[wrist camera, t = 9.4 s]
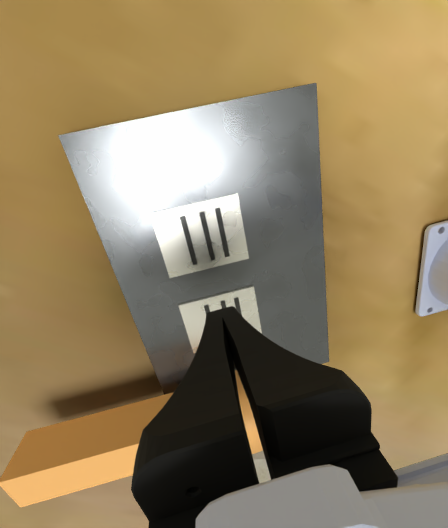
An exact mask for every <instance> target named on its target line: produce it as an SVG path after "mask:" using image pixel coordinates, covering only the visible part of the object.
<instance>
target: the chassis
mask: <svg viewBox="0 0 448 528" xmlns="http://www.w3.org/2000/svg"><path fill="white" fill-rule="evenodd" d="M58 136H59V138H60V141H61V143H62V146H63V148H64V151H65V153H66V155H67V158H68V160H69V163H70V165H71V168H72V170H73V172H74V175H75V177H76V180H77V182H78V185H79V187H80V190H81V192H82V194H83V197H84V199H85V202H86V204H87V207H88V209H89V212H90V214H91V216H92V219H93V221H94V224H95V226H96V229H97V231H98V234H99V236H100V238H101V241H102V243H103V246H104V248H105V251H106V253H107V256H108V258H109V260H110V263H111V265H112V268H113V270H114V273H115V275H116V278H117V280H118V282H119V285H120V287H121V290H122V292H123V295H124V297H125V300H126V302H127V304H128V307H129V309H130V312H131V314H132V317H133V319H134V322H135V324H136V326H137V329H138V331H139V334H140V336H141V339H142V341H143V343H144V346H145V348H146V351H147V353H148V356H149V358H150V361H151V363H152V365H153V368H154V370H155V373H156V375H157V378H158V380H159V383H160V385H161V387H162V390H163V392H164V395H165V394H169V393H173V392H175V390H176V389H177V387H178V386H179V384H180V382H181V381H182V379H183V377H184V376H185V374H186V372H187V370H188V368H189V366H190V364H191V362H192V360H193V358H194V356H195V353H196V351H197V348H198V345H199V343H200V340H201V336H202V333H203V330H204V325H205V320H206V314H207V313H208V312H211V311H215V310H219V309H222V308H226V307H230V306H233V307H235V308H236V310H237V311H238V312H239V313H240V314H241V316H242V317H243V318H244V319H245V320H246V321H247V322H249V323H250V324H251V325H252V326H253V327H254V328H255V329H257V330H258V331H259V332H260V333H262V334H263V335H264V336H266V337H267V338H268V339H270V340H271V341H273V342H274V343H276V344H278V345H279V346H281V347H283V348H284V349H286V350H288V351H290V352H292V353H294V354H296V355H298V356H301V357H303V358H305V359H308V360H310V361H313V362H316V363H318V364H322V363H326V362H329V349H328V327H327V305H326V283H325V261H324V239H323V217H322V195H321V173H320V151H319V129H318V107H317V85H316V83H313V84H308V85H303V86H298V87H293V88H288V89H283V90H279V91H274V92H269V93H264V94H259V95H254V96H249V97H244V98H239V99H234V100H229V101H225V102H220V103H215V104H210V105H205V106H200V107H195V108H190V109H185V110H180V111H176V112H171V113H166V114H161V115H156V116H151V117H146V118H141V119H136V120H131V121H126V122H122V123H117V124H112V125H107V126H102V127H97V128H92V129H87V130H82V131H77V132H73V133H68V134H63V135H58ZM233 362H234V361H233ZM234 369H235V370H237V369H236V367H235V364H234Z"/></svg>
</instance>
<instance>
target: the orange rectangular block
mask: <svg viewBox="0 0 448 528" xmlns="http://www.w3.org/2000/svg"><path fill="white" fill-rule="evenodd" d="M235 375H236V381H237V388H238V394H239V401H240V406H241V411H242V416H243V420H244V424H245V428H246V432H247V436H248V440H249V444H250V448H251V452H252V454H255V453H258V452H260V451H263V449H262V445H261V442H260V438H259V434H258V431H257V427H256V424H255V420H254V417H253V413H252V410H251V407H250V404H249V401H248V398H247V396H246V393H245V390H244V388H243V385H242V383H241V380H240V377H239V375H238V372H237V370H235ZM173 393H174V392H173ZM173 393H169V394H165V395H162V396H158V397H154V398H150V399H147V400H143V401H139V402H136V403H132V404H128V405H124V406H121V407H117V408H113V409H110V410H106V411H102V412H98V413H95V414H91V415H87V416H83V417H80V418H76V419H72V420H69V421H65V422H61V423H57V424H54V425H50V426H46V427H42V428H39V429H35V430H31V431H28V432H26V434H25V435H24V437H23V439H22V441H21V443H20V444H19V446H18V448H17V450H16V451H15V453H14V455H13V457H12V459H11V460H10V462H9V464H8V466H7V467H6V469H5V471H4V473H3V475H2V476H1V478H0V486H1V487H2V488H3V489H4V490H5V491H6V492H7V494H8V495H9V496H10V497H11V498H12V499H13V500H14V501H15V502H16V503H17V504H18V505H19V506H20V508H21V507H24V506H27V505H31V504H34V503H38V502H41V501H45V500H48V499H52V498H55V497H59V496H62V495H65V494H69V493H72V492H76V491H79V490H83V489H86V488H90V487H93V486H97V485H100V484H104V483H107V482H110V481H114V480H117V479H121V478H124V477H128V476H131V475H133V471H134V463H135V457H136V453H137V449H138V445H139V441H140V438H141V434H142V431H143V429H144V428H145V427H146V426H147V425H148V424H149V423H150V421H151V420H152V419H153V418H154V417H155V416H156V415H157V414H158V412H159V411H160V410H161V409H162V408H163V407H164V405H165V404H166V403H167V401H168V400H169V398H170V397H171V396H172V394H173Z"/></svg>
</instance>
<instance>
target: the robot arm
mask: <svg viewBox="0 0 448 528" xmlns="http://www.w3.org/2000/svg"><path fill="white" fill-rule="evenodd" d="M438 230H439V231H438ZM447 309H448V220H447V221H443V222H439V223H435V224H432V225H429V226H428V227H427V228H426V230H425V234H424V243H423V251H422V260H421V268H420V277H419V285H418V293H417V302H416V310H415V312H416V314H418V315H419V316H426V315H429V314H433V313H437V312H440V311H444V310H447ZM233 361H234V362H233ZM234 364H235V367H236V369H237V372H238V375H239V377H240V380H241V383H242V385H243V388H244V390H245V393H246V396H247V398H248V401H249V404H250V407H251V410H252V413H253V417H254V420H255V424H256V427H257V431H258V434H259V438H260V442H261V445H262V449H263V452H264V456H265V459H266V463H267V467H268V470H269V474H270V477H271V480H269V481H266V482H263V483H260V484H259V480H258V476H257V472H256V468H255V464H254V460H253V456H252V452H251V448H250V444H249V440H248V436H247V432H246V428H245V424H244V420H243V416H242V411H241V406H240V401H239V394H238V388H237V381H236V375H235V369H234ZM371 411H372V410H371V404H370V402H369V400H368V399H367V397H366V396H365V394H364V393H363V392H362V391H361V389H360V388H359V387H358V386H357V385H356V384H355V383H354V382H353V381H352V380H351V379H350V378H349V377H348V376H347V375H346V374H345V373H344V372H343V371H342V370H338V369H335V368H332V367H328V366H325V365H322V364H318V363H316V362H313V361H310V360H308V359H305V358H303V357H301V356H298V355H296V354H294V353H292V352H290V351H288V350H286V349H284V348H283V347H281V346H279V345H278V344H276V343H274V342H273V341H271V340H270V339H268V338H267V337H266V336H264V335H263V334H262V333H260V332H259V331H258V330H257V329H255V328H254V327H253V326H252V325H251V324H250V323H249V322H247V321H246V320H245V319H244V318H243V317H242V316H241V314H240V313H239V312H238V311H237V310H236V308H235V307H233V306H230V307H226V308H222V309H219V310H215V311H211V312H208V313H207V314H206V320H205V325H204V330H203V333H202V336H201V340H200V343H199V345H198V348H197V351H196V353H195V356H194V358H193V360H192V362H191V364H190V366H189V368H188V370H187V372H186V374H185V376H184V377H183V379H182V381H181V382H180V384H179V386H178V387H177V389H176V390H175V392H174V393H173V394H172V396H171V397H170V398H169V400H168V401H167V403H166V404H165V405H164V407H163V408H162V409H161V410H160V411H159V412H158V414H157V415H156V416H155V417H154V418H153V419H152V420H151V421H150V423H149V424H148V425H147V426H146V427H145V428H144V429H143V431H142V434H141V438H140V441H139V445H138V449H137V453H136V457H135V463H134V471H133V478H132V487H131V490H132V493H133V496H134V498H135V500H136V501H137V503H138V504H139V506H140V507H141V509H142V511H143V512H144V514H145V515H146V517H147V518H148V520H149V528H448V453H446V454H443V455H440V456H437V457H434V458H431V459H428V460H424V461H421V462H418V463H415V464H412V465H409V466H406V467H403V468H400V469H397V470H394V471H393V469H392V468H391V466H390V465H389V463H388V462H387V461H386V459H385V458H384V456H383V455H382V453H381V452H380V450H379V449H380V445H379V443H378V441H377V440H376V438H375V437H374V435H373V434H372V433H371Z"/></svg>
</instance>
